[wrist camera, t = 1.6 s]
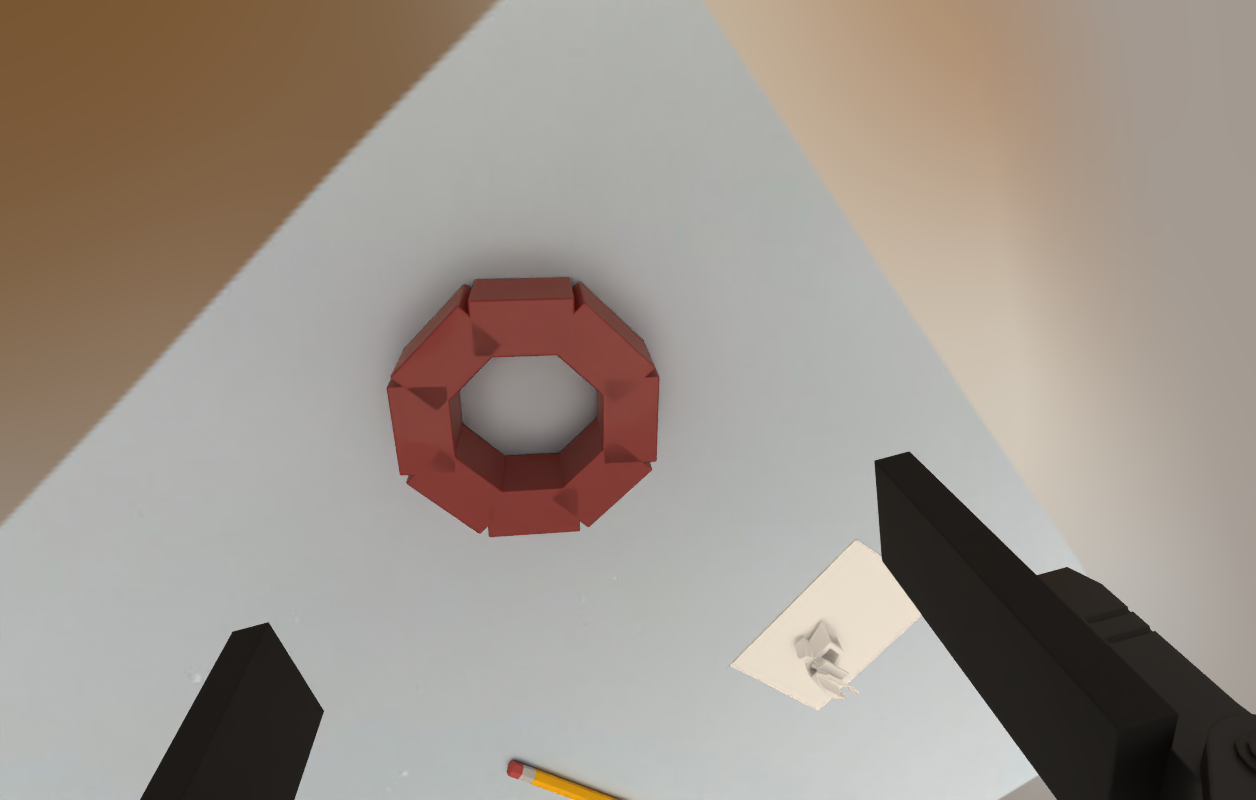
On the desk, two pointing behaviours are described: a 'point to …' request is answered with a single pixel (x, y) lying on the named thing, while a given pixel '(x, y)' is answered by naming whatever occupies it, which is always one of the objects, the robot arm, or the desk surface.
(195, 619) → the desk surface
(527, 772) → the pencil
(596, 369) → the ring
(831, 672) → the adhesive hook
